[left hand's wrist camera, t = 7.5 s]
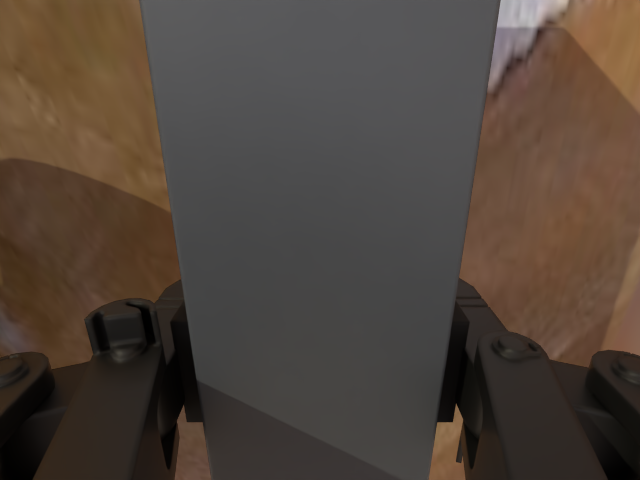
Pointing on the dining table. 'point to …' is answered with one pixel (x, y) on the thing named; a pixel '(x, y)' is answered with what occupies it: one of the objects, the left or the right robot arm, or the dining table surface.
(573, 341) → the dining table surface
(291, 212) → the bar
